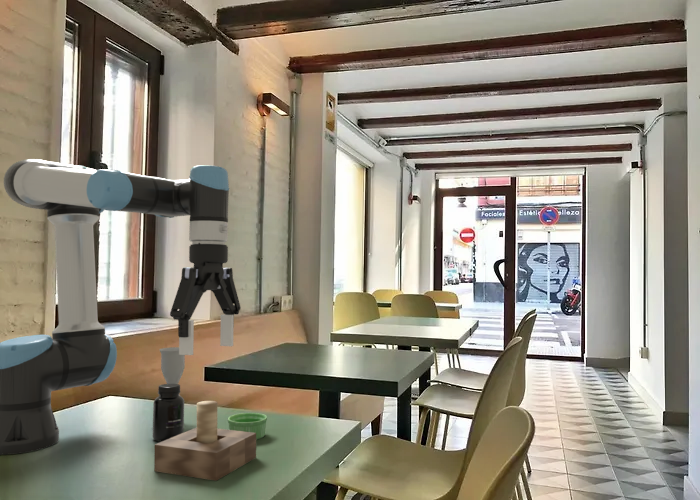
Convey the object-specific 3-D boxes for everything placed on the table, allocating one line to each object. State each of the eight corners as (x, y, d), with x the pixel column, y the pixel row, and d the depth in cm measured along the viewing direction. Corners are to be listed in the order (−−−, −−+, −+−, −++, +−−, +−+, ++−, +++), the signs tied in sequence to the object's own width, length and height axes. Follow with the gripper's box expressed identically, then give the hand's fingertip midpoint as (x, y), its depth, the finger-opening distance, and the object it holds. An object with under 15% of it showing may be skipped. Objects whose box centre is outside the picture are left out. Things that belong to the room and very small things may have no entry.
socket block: (154, 471, 110) (154, 444, 111) (198, 450, 124) (199, 426, 124) (216, 480, 105) (216, 452, 106) (256, 457, 118) (256, 432, 119)
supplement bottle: (174, 443, 129) (175, 388, 129) (146, 441, 130) (147, 387, 130) (189, 434, 135) (189, 382, 136) (162, 433, 137) (163, 381, 137)
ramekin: (220, 440, 131) (220, 420, 131) (239, 429, 140) (239, 411, 140) (256, 443, 129) (256, 423, 129) (273, 432, 137) (273, 414, 137)
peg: (192, 466, 113) (192, 404, 114) (204, 460, 117) (204, 400, 117) (209, 468, 112) (209, 406, 112) (221, 462, 116) (221, 401, 116)
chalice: (158, 417, 152) (159, 347, 152) (185, 415, 154) (186, 346, 154) (158, 424, 145) (159, 351, 145) (186, 421, 147) (187, 350, 147)
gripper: (185, 240, 103) (183, 360, 102) (257, 245, 126) (256, 343, 126) (151, 240, 106) (149, 357, 105) (227, 246, 129) (226, 341, 128)
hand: (207, 350), depth 115 cm, fingers open, 13 cm apart
